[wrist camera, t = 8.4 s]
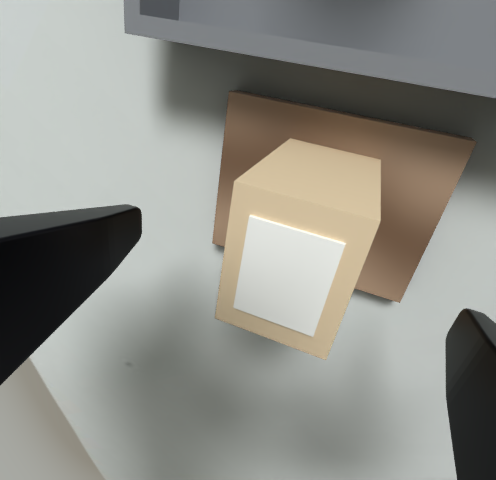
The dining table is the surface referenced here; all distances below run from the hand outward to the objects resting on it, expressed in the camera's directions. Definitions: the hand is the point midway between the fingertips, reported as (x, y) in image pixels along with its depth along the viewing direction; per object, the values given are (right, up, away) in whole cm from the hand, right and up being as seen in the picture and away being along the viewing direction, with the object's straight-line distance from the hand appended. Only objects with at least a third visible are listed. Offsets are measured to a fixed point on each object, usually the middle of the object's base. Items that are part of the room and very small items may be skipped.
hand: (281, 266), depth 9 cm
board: (+2, +3, +5) cm, 7 cm away
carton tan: (+2, +2, +5) cm, 6 cm away
